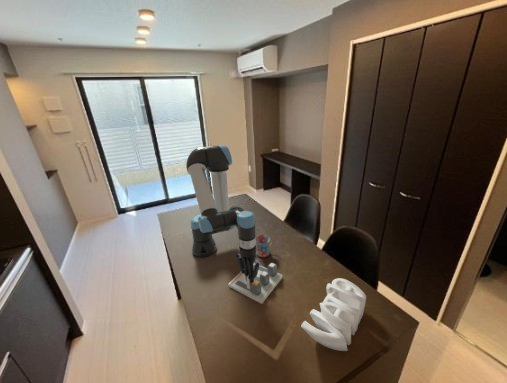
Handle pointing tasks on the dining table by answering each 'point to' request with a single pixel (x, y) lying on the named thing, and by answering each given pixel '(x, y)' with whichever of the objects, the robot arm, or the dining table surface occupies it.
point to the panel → (265, 276)
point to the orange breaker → (256, 287)
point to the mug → (263, 245)
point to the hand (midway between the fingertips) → (250, 286)
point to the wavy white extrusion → (337, 315)
